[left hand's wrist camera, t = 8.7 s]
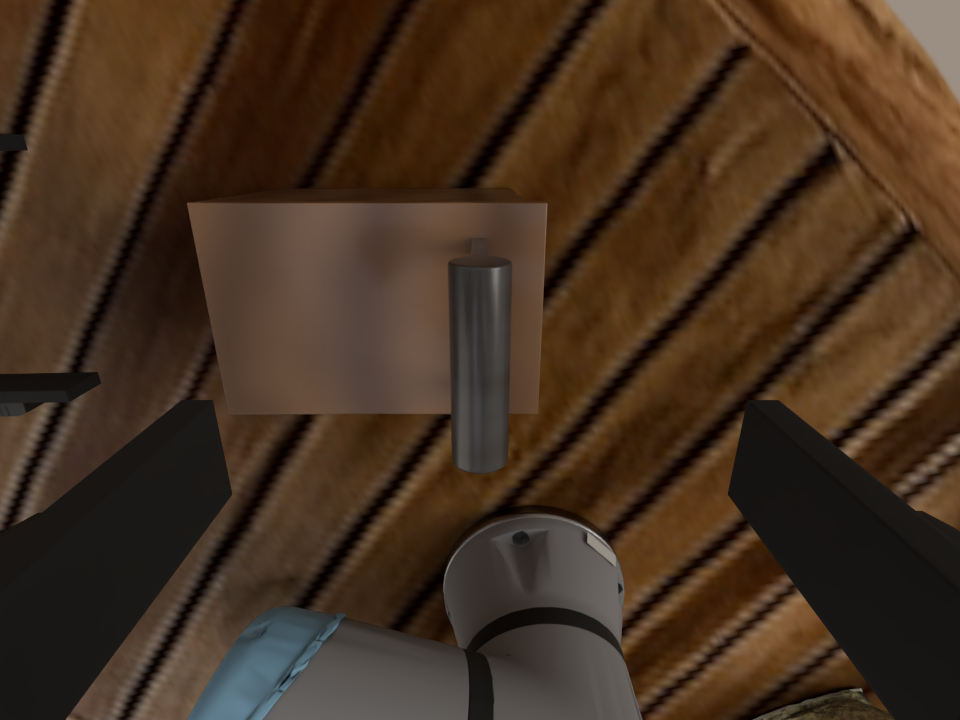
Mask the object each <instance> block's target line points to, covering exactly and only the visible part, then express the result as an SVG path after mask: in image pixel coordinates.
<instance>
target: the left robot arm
mask: <svg viewBox="0 0 960 720" xmlns="http://www.w3.org/2000/svg"><path fill="white" fill-rule="evenodd" d="M231 495H232V491H231V486H230V481H229V476H228V472H227V467H226V462H225V457H224V452H223V448H222V443H221V438H220V433H219V428H218V423H217V419H216V414H215V409H214V404H213V400H181V401H180V402H179V403H178V404H176V405H175V406H174V407H173V408H171V409H170V410H169V411H168V412H166V413H165V414H164V415H163V416H161V417H160V418H159V419H158V420H156V421H155V422H154V423H153V424H151V425H150V426H149V427H148V428H146V429H145V430H144V431H143V432H142V433H140V434H139V435H138V436H137V437H135V438H134V439H133V440H132V441H130V442H129V443H128V444H127V445H125V446H124V447H123V448H122V449H120V450H119V451H118V452H117V453H115V454H114V455H113V456H112V457H110V458H109V459H108V460H107V461H106V462H104V463H103V464H102V465H101V466H99V467H98V468H97V469H96V470H94V471H93V472H92V473H91V474H89V475H88V476H87V477H86V478H84V479H83V480H82V481H81V482H79V483H78V484H77V485H76V486H74V487H73V488H72V489H71V490H70V491H68V492H67V493H66V494H65V495H63V496H62V497H61V498H60V499H58V500H57V501H56V502H55V503H53V504H52V505H51V506H50V507H48V508H47V509H46V510H45V511H43V512H42V513H37V514H35V515H33V516H31V517H30V518H28V519H26V520H24V521H22V522H20V523H18V524H16V525H15V526H13V527H11V528H9V529H7V530H5V531H4V532H2V533H1V534H0V720H66V718H67V717H68V715H69V714H70V713H71V711H72V710H73V709H74V707H75V706H76V705H77V703H78V702H79V701H80V699H81V698H82V697H83V695H84V694H85V693H86V691H87V690H88V688H89V687H90V686H91V684H92V683H93V682H94V680H95V679H96V678H97V676H98V675H99V674H100V672H101V671H102V670H103V668H104V667H105V666H106V664H107V663H108V661H109V660H110V659H111V657H112V656H113V655H114V653H115V652H116V651H117V649H118V648H119V647H120V645H121V644H122V643H123V641H124V640H125V639H126V637H127V636H128V634H129V633H130V632H131V630H132V629H133V628H134V626H135V625H136V624H137V622H138V621H139V620H140V618H141V617H142V616H143V614H144V613H145V611H146V610H147V609H148V607H149V606H150V605H151V603H152V602H153V601H154V599H155V598H156V597H157V595H158V594H159V593H160V591H161V590H162V589H163V587H164V586H165V584H166V583H167V582H168V580H169V579H170V578H171V576H172V575H173V574H174V572H175V571H176V570H177V568H178V567H179V566H180V564H181V563H182V562H183V560H184V559H185V557H186V556H187V555H188V553H189V552H190V551H191V549H192V548H193V547H194V545H195V544H196V543H197V541H198V540H199V539H200V537H201V536H202V535H203V533H204V532H205V530H206V529H207V528H208V526H209V525H210V524H211V522H212V521H213V520H214V518H215V517H216V516H217V514H218V513H219V512H220V510H221V509H222V508H223V506H224V505H225V503H226V502H227V501H228V499H229V498H230V497H231ZM728 495H729V497H730V498H731V499H732V501H733V502H734V503H735V505H736V506H737V508H738V509H739V510H740V512H741V513H742V514H743V516H744V517H745V518H746V520H747V521H748V522H749V524H750V525H751V526H752V528H753V529H754V530H755V532H756V533H757V535H758V536H759V537H760V539H761V540H762V541H763V543H764V544H765V545H766V547H767V548H768V549H769V551H770V552H771V553H772V555H773V556H774V557H775V559H776V560H777V562H778V563H779V564H780V566H781V567H782V568H783V570H784V571H785V572H786V574H787V575H788V576H789V578H790V579H791V580H792V582H793V583H794V584H795V586H796V587H797V589H798V590H799V591H800V593H801V594H802V595H803V597H804V598H805V599H806V601H807V602H808V603H809V605H810V606H811V607H812V609H813V610H814V611H815V613H816V614H817V616H818V617H819V618H820V620H821V621H822V622H823V624H824V625H825V626H826V628H827V629H828V630H829V632H830V633H831V634H832V636H833V637H834V639H835V640H836V641H837V643H838V644H839V645H840V647H841V648H842V649H843V651H844V652H845V653H846V655H847V656H848V657H849V659H850V660H851V661H852V663H853V664H854V666H855V667H856V668H857V670H858V671H859V672H860V674H861V675H862V676H863V678H864V679H865V680H866V682H867V683H868V684H869V686H870V687H871V688H872V690H873V691H874V693H875V694H876V695H877V697H878V698H879V699H880V701H881V702H882V703H883V705H884V706H885V707H886V709H887V710H888V711H889V713H890V714H891V715H892V717H893V718H894V720H960V531H958V530H957V529H955V528H953V527H952V526H950V525H948V524H946V523H944V522H942V521H940V520H938V519H936V518H935V517H933V516H931V515H929V514H927V513H925V512H923V511H915V510H914V509H913V508H912V507H910V506H909V505H908V504H907V503H905V502H904V501H903V500H902V499H900V498H899V497H898V496H897V495H895V494H894V493H893V492H892V491H890V490H889V489H888V488H887V487H886V486H884V485H883V484H882V483H881V482H879V481H878V480H877V479H876V478H874V477H873V476H872V475H871V474H869V473H868V472H867V471H866V470H864V469H863V468H862V467H861V466H859V465H858V464H857V463H856V462H854V461H853V460H852V459H851V458H850V457H848V456H847V455H846V454H845V453H843V452H842V451H841V450H840V449H838V448H837V447H836V446H835V445H833V444H832V443H831V442H830V441H828V440H827V439H826V438H825V437H823V436H822V435H821V434H820V433H818V432H817V431H816V430H815V429H814V428H812V427H811V426H810V425H809V424H807V423H806V422H805V421H804V420H802V419H801V418H800V417H799V416H797V415H796V414H795V413H794V412H792V411H791V410H790V409H789V408H787V407H786V406H785V405H784V404H782V403H781V402H780V401H779V400H747V404H746V409H745V414H744V419H743V423H742V428H741V433H740V438H739V443H738V448H737V452H736V457H735V462H734V467H733V472H732V476H731V481H730V486H729V491H728ZM443 591H444V601H445V607H446V611H447V614H448V617H449V619H450V622H451V624H452V626H453V629H454V633H455V636H456V640H457V643H458V647H457V646H453V645H449V644H445V643H441V642H437V641H434V640H430V639H426V638H422V637H418V636H414V635H410V634H406V633H402V632H399V631H395V630H391V629H387V628H383V627H379V626H375V625H371V624H368V623H364V622H360V621H356V620H352V619H348V618H345V616H346V614H344V613H340V612H339V613H337V614H335V615H332V614H327V613H322V612H317V611H312V610H307V609H302V608H297V607H292V606H280V607H275V608H272V609H269V610H267V611H265V612H264V613H262V614H261V615H259V616H258V617H257V618H256V619H254V620H253V621H252V622H251V623H250V624H249V625H248V627H247V628H246V629H245V630H244V631H243V632H242V634H241V635H240V636H239V638H238V639H237V640H236V642H235V643H234V644H233V646H232V647H231V649H230V650H229V652H228V653H227V655H226V656H225V658H224V659H223V661H222V662H221V664H220V665H219V667H218V668H217V670H216V672H215V673H214V675H213V676H212V678H211V679H210V681H209V683H208V684H207V686H206V688H205V689H204V691H203V693H202V694H201V696H200V698H199V700H198V701H197V703H196V705H195V706H194V708H193V710H192V711H191V713H190V715H189V717H188V718H187V720H642V717H641V714H640V710H639V707H638V704H637V700H636V697H635V694H634V690H633V687H632V684H631V680H630V677H629V673H628V670H627V667H626V664H625V660H624V657H623V653H622V649H621V632H622V607H623V602H624V583H623V575H622V570H621V567H620V564H619V561H618V558H617V555H616V552H615V550H614V548H613V546H612V544H611V543H610V541H609V540H608V538H607V537H606V536H605V535H604V534H603V533H602V532H601V531H600V530H599V529H598V528H597V527H596V526H594V525H593V524H592V523H590V522H589V521H587V520H586V519H584V518H582V517H580V516H578V515H575V514H573V513H570V512H567V511H564V510H560V509H555V508H548V507H522V508H515V509H510V510H506V511H503V512H499V513H497V514H494V515H492V516H489V517H487V518H485V519H483V520H482V521H480V522H478V523H477V524H475V525H474V526H473V527H471V528H470V529H469V530H468V531H467V532H465V533H464V534H463V535H462V536H461V538H460V539H459V540H458V541H457V542H456V544H455V545H454V547H453V549H452V550H451V552H450V554H449V557H448V559H447V563H446V566H445V573H444V588H443Z"/></svg>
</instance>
